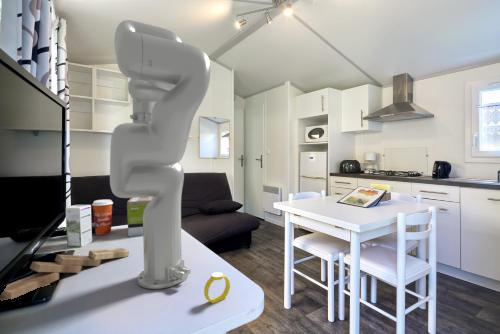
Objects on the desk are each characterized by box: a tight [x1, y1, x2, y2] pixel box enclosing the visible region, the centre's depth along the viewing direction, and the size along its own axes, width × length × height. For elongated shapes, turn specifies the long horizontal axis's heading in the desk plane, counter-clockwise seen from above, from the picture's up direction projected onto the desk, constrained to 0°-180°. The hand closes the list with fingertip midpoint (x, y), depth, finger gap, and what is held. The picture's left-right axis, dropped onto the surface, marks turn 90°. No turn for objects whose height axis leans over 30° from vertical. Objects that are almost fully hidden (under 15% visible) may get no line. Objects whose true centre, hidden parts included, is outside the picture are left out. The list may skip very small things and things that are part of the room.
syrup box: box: [65, 204, 93, 248], centre depth 93 cm, size 6×6×14 cm
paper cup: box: [91, 199, 114, 236], centre depth 106 cm, size 8×8×14 cm
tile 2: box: [29, 261, 83, 273], centre depth 67 cm, size 5×2×10 cm
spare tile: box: [87, 247, 130, 260], centre depth 79 cm, size 5×2×10 cm
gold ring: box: [203, 271, 231, 304], centre depth 56 cm, size 6×3×6 cm, turn 128°
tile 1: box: [54, 254, 102, 267], centre depth 72 cm, size 5×2×10 cm
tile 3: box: [0, 272, 60, 300], centre depth 60 cm, size 5×2×10 cm
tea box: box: [126, 196, 153, 237], centre depth 110 cm, size 15×10×15 cm
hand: (145, 171), depth 89 cm, fingers closed
